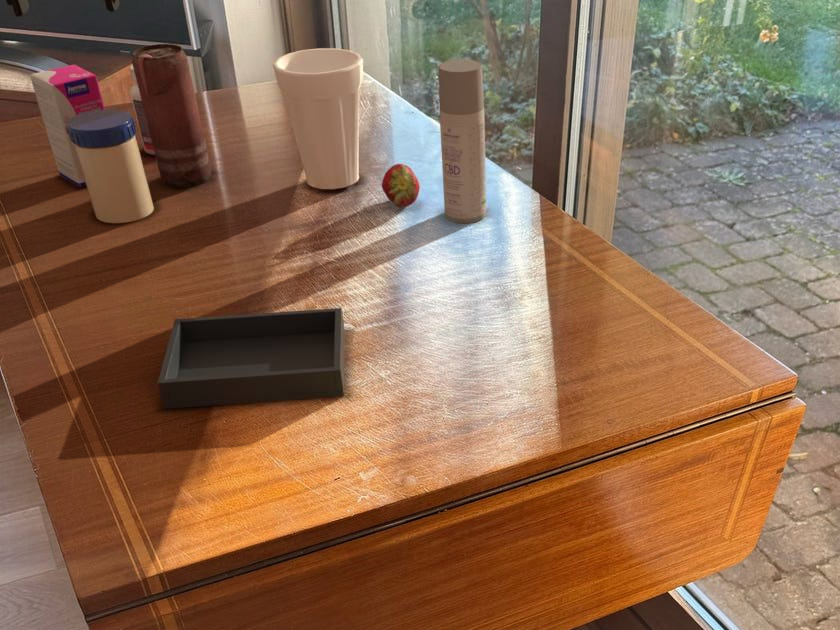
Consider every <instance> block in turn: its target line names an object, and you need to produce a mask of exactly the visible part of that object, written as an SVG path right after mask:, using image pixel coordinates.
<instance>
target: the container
mask: <svg viewBox="0 0 840 630" xmlns="http://www.w3.org/2000/svg"><path fill="white" fill-rule="evenodd" d="M483 81H484V79H483V63H481V62H480V61H478V60H474V59H467V58H456V59H449V60H445V61H442V62H441V63H440V64H439V65H438V97H439V98H438V99H439V129H440V149H441V150H440V151H441V163H442V164H441V167H442V184H443V185H442V186H443V187H442V188H443V204H444V205H443V206H444V217H445V219H447V220H448V221H450V222H453V223H457V224H471V223H477V222H479V221H481V220H483V219H484V218H485V217H487V184H486V183H487V181H486V180H487V179H486V177H487V176H486V175H487V174H486V133H485V132H486V131H485V129H486V128H485V127H486V126H485V101H484V99H485V98H484V82H483Z"/></svg>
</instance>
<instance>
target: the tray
mask: <svg viewBox="0 0 840 630" xmlns="http://www.w3.org/2000/svg"><path fill="white" fill-rule="evenodd" d="M343 315H344V314H343V308H342V307H334V308H333V307H332V308H321V309H303V310H291V311H276V312H261V313H259V312H258V313H246V314H230V315H217V316H202V317H187V318H175V319H174V321H173V324H172V328H171V331H170V335H169V339H168V343H167V347H166V351H165V355H164V358H163V361H162V364H161V370H160V373H159V377H158V381H157V386H158V389H159V393H160V396H161V401H162V403H163V406H164V407H163V408H164V410H170V409H172V410H173V409H184V408H185V409H187V408H198V407H199V408H200V407H211V406H213V407H214V406H227V405H239V404H240V405H241V404H256V403H269V402H282V401H297V400H298V401H299V400H309V399H310V400H311V399H324V398H338V397H344V396H345V373H346V372H345V367H346V366H345V364H346V363H345V361H346V360H345V359H346V331H345V322H344V316H343Z"/></svg>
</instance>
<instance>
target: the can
mask: <svg viewBox="0 0 840 630" xmlns="http://www.w3.org/2000/svg"><path fill="white" fill-rule="evenodd" d="M132 54H133V56H132V60H131V65H133V68H134V72H135V76H136V80H137V84H138V88H139V92H140V96H141V100H142V104H143V108H144V112H145V116H146V120H147V124H148V128H149V132H150V136H151V140H152V144H153V148H154V152H155V155H154V157H155V160H156V164H157V168H158V172H159V176H160V179H161V181H163V183H164V184H166V185H167V186H169V187H171V188H191V187H195V186H199V185H202V184H204V183H206V182H208V181H209V179H210V177H211V175H212V168H211V163H210V159H209V153H208V148H207V145H206V140H205V134H204V129H203V125H202V120H201V116H200V111H199V107H198V102H197V97H196V93H195V87H194V82H193V78H192V74H191V73H192V72H191V69H190V64H189V60H188V56H187V54H186V52H184V50H183V48H182V46H180V45H177V44H172V43H158V44H157V43H156V44H151V45H146V46H142V47H139V48H137V49H134V50H133V52H132Z"/></svg>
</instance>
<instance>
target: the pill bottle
mask: <svg viewBox="0 0 840 630" xmlns="http://www.w3.org/2000/svg"><path fill="white" fill-rule="evenodd" d="M129 72H130V77H131V80H132V81H133V82H134V84H133V85H132V86H131V87H130V89H129V97H130V99H131V104H132V109H133V111H134V116H135V119H136V123H137V129H138V131H139V135H140V140H141V144H142V148H143V150H144V152H145V153H146V154H148V155H151V156H155V152H154V148H153V144H152V140H151V136H150V132H149V128H148V124H147V120H146V116H145V112H144V108H143V104H142V100H141V96H140V92H139V88H138V84H137V80H136V76H135V72H134V68H133V64H131V65H130V66H129Z"/></svg>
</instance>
